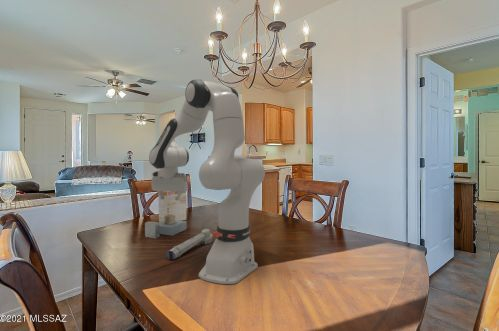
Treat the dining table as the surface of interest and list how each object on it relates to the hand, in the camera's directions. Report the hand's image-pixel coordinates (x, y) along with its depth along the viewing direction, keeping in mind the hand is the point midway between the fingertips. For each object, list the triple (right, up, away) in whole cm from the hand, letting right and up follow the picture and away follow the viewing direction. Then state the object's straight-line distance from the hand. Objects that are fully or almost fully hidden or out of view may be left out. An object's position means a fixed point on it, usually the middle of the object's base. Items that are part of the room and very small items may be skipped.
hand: (169, 199), depth 138 cm
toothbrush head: (+17, -18, -24) cm, 35 cm away
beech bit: (0, -16, +1) cm, 16 cm away
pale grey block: (-6, -17, -8) cm, 20 cm away
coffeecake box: (-4, -15, +20) cm, 25 cm away
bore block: (0, -16, +1) cm, 16 cm away
